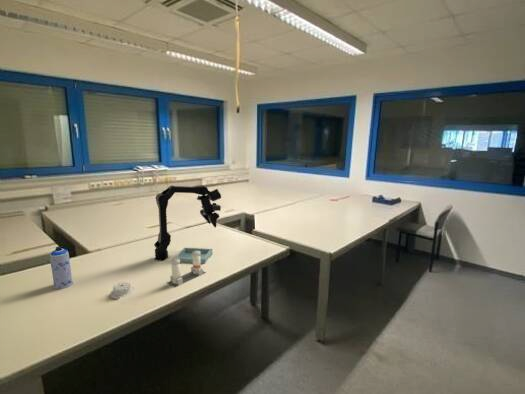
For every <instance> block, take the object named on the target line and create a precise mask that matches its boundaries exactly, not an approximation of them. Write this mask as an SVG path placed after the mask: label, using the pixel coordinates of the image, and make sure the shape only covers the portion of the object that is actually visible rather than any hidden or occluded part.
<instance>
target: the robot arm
mask: <svg viewBox="0 0 525 394" xmlns="http://www.w3.org/2000/svg"><path fill="white" fill-rule="evenodd" d="M175 193H176V194H177V193H179V194H182V193H183V194H195V195H198V196H197V197H196V200H198V201H200V203H201V208H202V209H200V211H199V213H200V215H201V217H203V219H205V221H206V222H207V223H208V224H209V225H210V224H212V226H213V227H214V228H217V221H218V219H219V218H220V214H219V213H217V211H219V212H220V211H221V209H222V207H221V205H220V204H217V202H215V201H217V200H220V199H221V198H222V194H221V193H220V191H219V189H218V188H216V189H214V190H211V191H210V189H208V186H206V185H205V186H204V185H203V184H197V185H192V186H185V185H182V186H181V185H169V186H168V188H166V189H164V190H163V191H162V192H160V193H158V194H156V196H155V202H156V205H157V209H158V220H159V221H158V223H159V232H158V235H157V236H158V237H157V241H155V243H154V244H153V246H154V247H155V249H154V256H155V258H154V261H166V260H167V258H169V251H168V247H169V246H170V244H171V242H172V241H171V239H172V238H171V236H172V235H171V234H170V233H169V232H168V222H167V221H168V219H167V208H168V206H169V200H170V199H171V198H172V197H173V195H174V194H175ZM211 202H213V203H211Z"/></svg>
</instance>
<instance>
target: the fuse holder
mask: <svg viewBox="0 0 525 394" xmlns="http://www.w3.org/2000/svg"><path fill="white" fill-rule="evenodd" d="M206 273H207V272H206V271H204V269H203V268H201V269H199V270H198V275H194V274H193V265H192V266H191V267H190V272H187V273H185V274H183V275H180V276H181V278H179V279H177V284H173V283H172V274H171V275H170V281H167V282H166V284H168V285H169V286H171V287H173V288H177V287H179V286H181V285H184V284H185V283H187V282H189V281H192V280H194V279H196V278H198V277H201V276H202V275H205V274H206Z"/></svg>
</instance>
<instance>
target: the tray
mask: <svg viewBox="0 0 525 394" xmlns="http://www.w3.org/2000/svg"><path fill="white" fill-rule="evenodd" d="M193 251H200V263H201V264H206V263H207V262H208V261H209V259H210V258H211V257H212V255H213V248H198V247H183V249H182V250H181V251H180V252H178V254H177V255H176V256H175V257H174V259H175V258H178V259H180V263H185V264H186V263H187V264H188V263H189V264H193V256H192V252H193Z"/></svg>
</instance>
